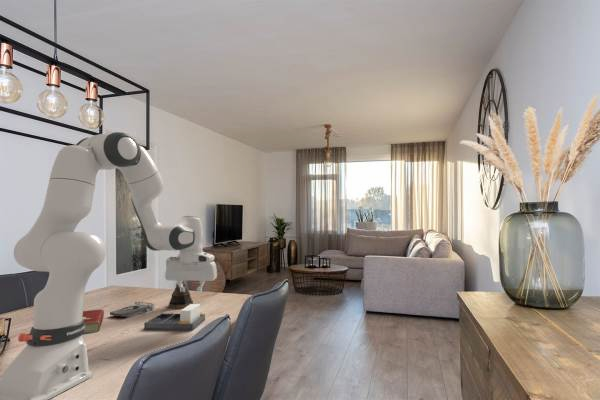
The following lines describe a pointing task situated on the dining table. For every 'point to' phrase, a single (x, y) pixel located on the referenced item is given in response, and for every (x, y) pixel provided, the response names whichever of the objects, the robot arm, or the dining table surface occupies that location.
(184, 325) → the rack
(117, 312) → the graphics card
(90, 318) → the hardcover book
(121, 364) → the dining table surface
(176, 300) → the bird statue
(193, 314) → the white rectangular block
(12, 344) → the dining table surface
